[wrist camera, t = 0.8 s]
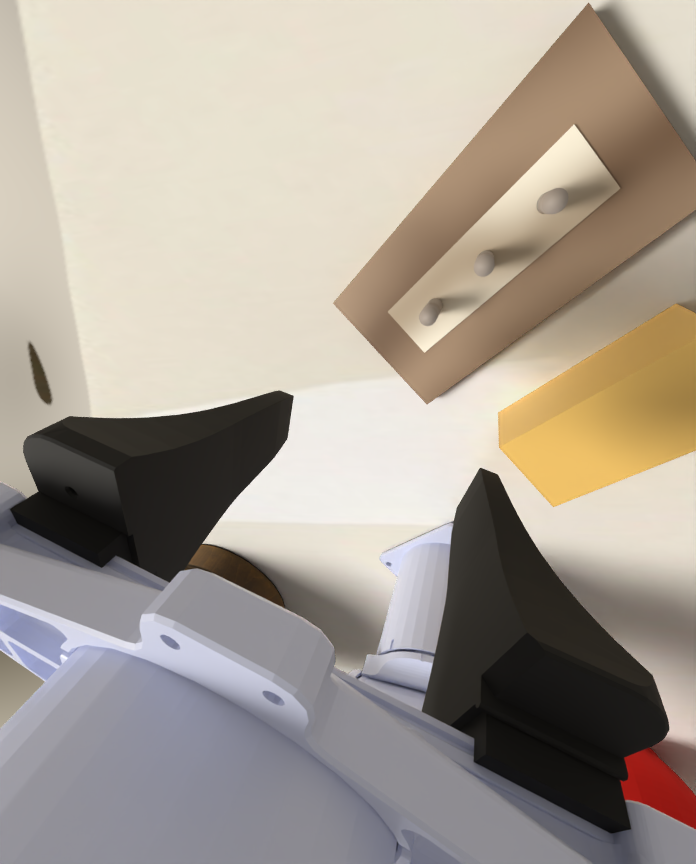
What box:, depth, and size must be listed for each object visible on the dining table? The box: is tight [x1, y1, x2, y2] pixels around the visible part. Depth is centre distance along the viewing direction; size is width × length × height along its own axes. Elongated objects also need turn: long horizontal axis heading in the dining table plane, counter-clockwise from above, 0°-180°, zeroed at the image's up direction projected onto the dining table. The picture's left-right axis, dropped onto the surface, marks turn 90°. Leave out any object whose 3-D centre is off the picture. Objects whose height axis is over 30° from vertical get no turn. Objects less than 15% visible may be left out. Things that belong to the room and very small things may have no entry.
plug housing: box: [498, 304, 696, 507], centre depth 17 cm, size 4×9×4 cm, turn 137°
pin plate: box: [333, 3, 696, 404], centre depth 16 cm, size 8×14×4 cm, turn 137°
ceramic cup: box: [620, 748, 696, 829], centre depth 30 cm, size 13×17×10 cm
